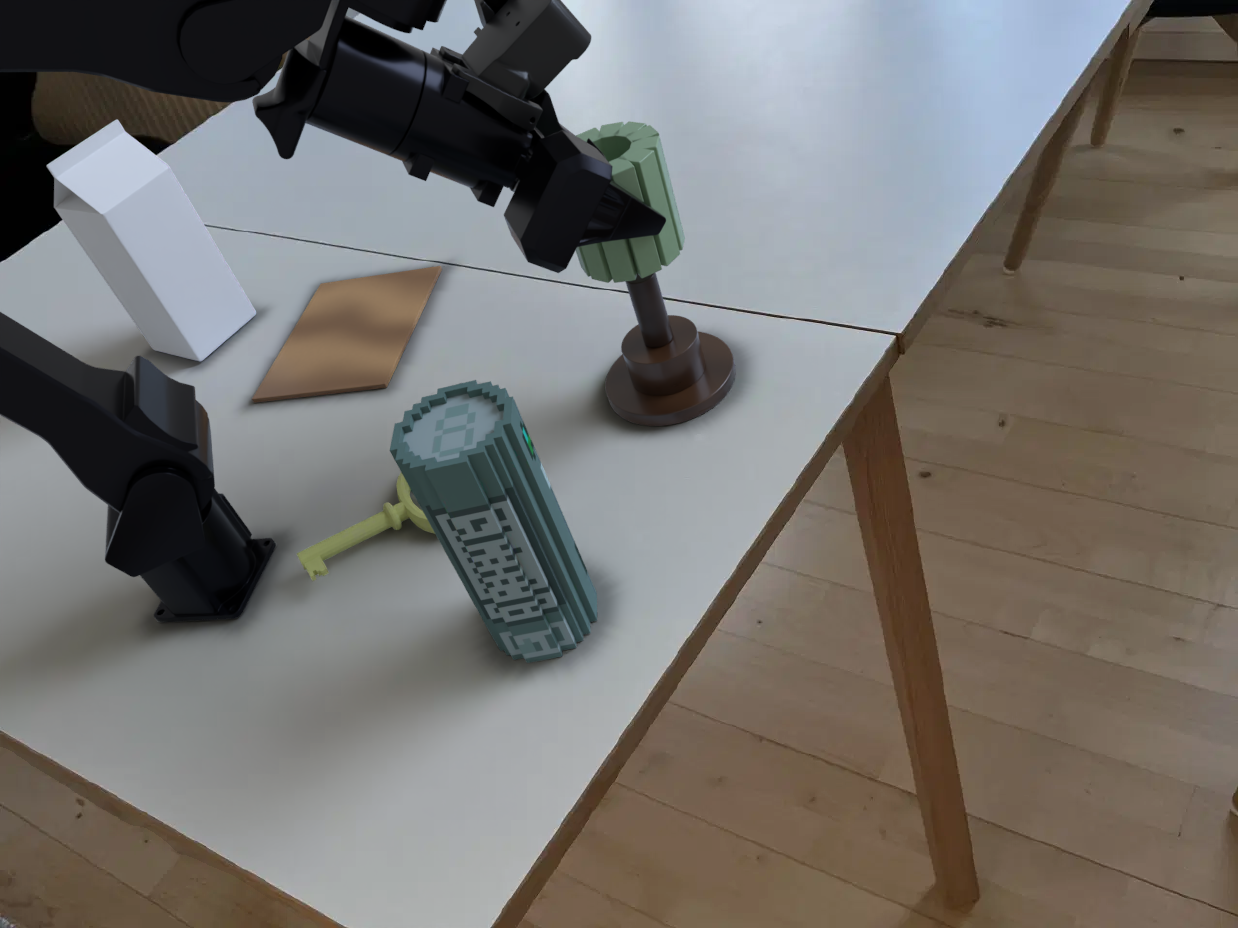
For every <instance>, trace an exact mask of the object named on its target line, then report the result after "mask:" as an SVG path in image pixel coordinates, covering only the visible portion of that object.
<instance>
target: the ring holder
mask: <svg viewBox="0 0 1238 928" xmlns="http://www.w3.org/2000/svg"><path fill="white" fill-rule="evenodd" d="M624 283H625V285H626V288H627V292H628V295H629V298H630V302H631V304H632V307H633V311H634V314H635V318H636V321H637V324H636V325H635V326H634V327H632V328H631V329H630V330H629V331H628V332H627V333H626V334H625V336H624V337H623V338H622V342H621V346H620V349H621V353H622V354H621V355H619V357H617V359H615V361H614V362H613V364H612V365H611V366H610V368H609V370H608V371H607V373H606V378H605V382H604V383H605V384H604V387H605V389H604V390H605V393H606V397H607V399H608V403H609V405H610V407H611V409H612V410H613V412H614V413H616V415H618V416H619V417H620V418H622V419H623V420H625V421H628V422H630V423H632V424H635V425H640V426H646V427H664V426H665V427H666V426H671V425H676V424H680V423H684V422H686V421H690V420H692V419H696V418H697V417H699V416H701V415H703V414H705V413H707V412H708V411H710V410H711V409H713V408H714V407H716V406H717V405H718V404H719V403H721V401H722V400H724V398H725V397H727V395H728V394H729V392H730V391H731V389H732V387H733V385H734V382H735V379H736V375H737V367H736V362H735V359H734V355H733V354H734V353H732V350H731V348H730V347H729V345H728V344H727V343H726V342H725V341H724V340H722V339H721V338H720V337H718V336H715V335H714V334H711V333H707V332H704V331H698V329H697V326H696V324H695V323H694V322H693V321H692V320H691V319H689V318H687V317H685V316H682V315H675V314H668V311H667V307H666V304H665V301H664V296H663V293H662V291H661V287H660V283H659V279H658V276H657V272H655V273H653V274H651V275H649V276H646V277H644V278H641V277H640V276H639V275H638V273H637V276H636V280H633V281H625V282H624Z"/></svg>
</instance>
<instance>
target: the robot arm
mask: <svg viewBox="0 0 1238 928" xmlns="http://www.w3.org/2000/svg"><path fill="white" fill-rule="evenodd" d="M447 1H448V0H0V73H80V74H85V75H90V76H96V77H103V78H107V79H109V80H110V79H111V80H113V81H116V82H120V83H123V84H126V85H129V86H132V87H135V88H138V89H141V90H145V91H148V92H151V93H157V94H162V95H163V94H165V95H169V96H177V97H182V98H183V97H184V98H189V99H197V100H202V101H209V102H216V103H235V102H241V101H246V100H249V99H251V98H252V99H251V100H252V101H251V102H252V106H253V111H254V115H255V117H256V118H257V119H258V120H259V121H260V122H261V123H262V124H263V126H264V127H265V129H266V130H267V131H268V133H269V135H270V136H271V138H272V141H273V143H274V145H275V147H276V151H277V153H278V155H279V157H280V159H283V160H290V159H292V158H293V157H294V155H295V153H296V150H297V148H298V145H299V142H300V140H301V137H302V134H303V132H304V129H305V126H306V125H309V126H311V127H314V128H317V129H319V130H322V131H324V132H326V133H327V132H328V133H329V134H332V135H335V136H337V137H340V138H342V139H345V140H348V141H350V142H353V143H355V144H357V145H360V146H363V147H365V148H368V149H370V150H373V151H375V152H377V153H380V154H383V155H386V156H388V157H390V158H393V159H396V160H398V161H401V162H402V165H403V166H404V168H405V170H406V173H407V174H408V176H411V177H413V178H417V179H419V180H422V181H424V182H427V180H428V178H429V176H430V173H432V174H434V175H436V176H439V177H442V178H445V179H447V180H448V181H449V180H450V181H452V182H454V183H456V184H459V185H463V186H465V187H467V188H469V190H470V191H471V192H472V194H473V196H474V198H475V199H476V201H477V202H479V203H481V204H484V205H486V206H489V207H492V208H495V206H496V204H497V202H498V200H499V198H500V195H501V193H502V191H503V190H504V188H507V189H509V190H510V191H511V192H513V194H512V196H511V198H510V200H509V203H508V204H507V206H506V209H505V211H504V213H503V218H504V220H505V222H506V225H507V228H508V231H509V233H510V236H511V238H512V239H513V240H514V242H515V244H516V245H517V247H518V249H519V250H520V252H521V253H522V255H523V257H524V258H525V260H526V261H527V263H529V264H531V265H535V266H538V267H540V268H543V269H546V270H548V271H551V272H554V273H556V274H559V273H562V272H563V271H565V270H566V269H567V268H568V266H569V264H570V262H571V260H572V258H573V256H574V254H575V253H576V248H577V247H581V246H586V245H590V244H595V243H601V242H608V241H615V240H623V239H630V238H638V237H646V236H654V235H658V234H659V233H660V232H661V230H662V228H663V227H664V225H665V223H666V218H665V217H664V216H663V215H662V214H661V213H659V212H658V211H656V210H655V209H653V208H652V207H651V206H649V205H648V204H646V203H645V202H643V201H642V200H640V199H639V198H637V197H636V196H634V195H633V194H631V193H630V192H628V191H627V190H625V189H624V188H623V187H621V186H620V185H618V184H617V183H615V182H614V181H612V180H611V177H612V167H613V166H612V165H611V164H610V163H609V162H608V161H607V160H606V157H605V155H604V154H603V153H602V152H601V151H600V149H599V148H598V147H597V146H596V145H595V144H594V143H593V142H592V141H591V140H590V139H589V138H588V140H587V142H585V141H584V140H582V139H580V138H579V137H576V135H575V134H574V133H573V132H571V131H570V130H569V129H568V128H567V127H566V126H564V125H563V124H561V123H560V122H559V118H558V116H557V113H556V111H555V110H556V109H555V106H554V104H553V101H552V98H551V95H550V93H549V92H548V91H547V90H546V88H547V87H548V86H549V85H550V84H551V83H552V82H553V81H554V80H555V79H556V78H557V76H559V74H560V73H562V71H563V70H565V68H566V67H567V66H568V65H569V64H570V63H571V62H572V61H574V60H576V61H577V60H578V59H579V58H581V56H582V55H584V53H585V52H586V51H587V50H588V48H589V47H590V45H591V42H592V34H591V33H590V31H588V30H587V28H585V26H584V25H583V24H582V23H581V21H579V19H578V18H577V17H576V16H575V15H574V14H573V13H572V11H571V10H570V9H569V8H568V7H567V6H566V4H565V3H564V2H563V1H562V0H473V1H474V5H475V7H476V11H477V14H478V17H479V18H478V19H479V21H480V23H481V26H482V28H480V27H479V26H478V27H476V29H475V30H473V34H474V35H475V36H476V38H475V39H474V40H473V41H472V42H471V43H470V45H469V46H468V47H467V48H466V50H465V51H463V53H460V52H457V51H456V50H454V49H451V48H448V47H446V46H444V45H441V46H440V47H439V49H437V48H435V47H432V48H431V50H430V53H429V52H427V51H425V50H423V49H421V48H418V47H416V46H414V45H411V44H410V43H407V42H405V41H403V40H400V39H398V38H396V37H394V36H392V35H390V34H387V33H385V32H383V31H381V30H379V29H377V28H374V27H373V26H370V25H368V24H365V23H363V22H361V21H359V20H357V19H355V18H352V17H350V16H348V15H347V13H348V11H349V9H351V10H353V11H355V12H356V13H359V14H361V15H363V16H365V17H366V18H369V19H370V20H372V21H375V22H376V23H378V24H380V25H382V26H385V27H387V28H389V29H392V30H395V31H398V32H400V33H404V34H412V33H413V30H414V29H416V30H419V31H424V30H425V26H426V24H427V22H429V23H439V21H440V18H441V16H442V14H443V12H444V8H445V7H446V4H447ZM308 38H309V39H308ZM286 53H287V54H286ZM284 54H286V56H285V59H284V61H283V62H284V63H283V65H282V67H281V71H280V73H279V76H278V79H277V82H276V85H275V87H273V88H272V89H270V90H269V91H267V92H266V93H262V94H260V93H261V91H262V90H263V89H264V88H265V87H266V86H267V85H268V84H269V83H270V82H271V81H272V79H273V78H274V77H275V76H276V74H277V72H278V69H279V67H280V65H281V62H282V60H283V55H284ZM0 416H1V417H2V418H4V419H6V420H8V421H10V422H12V423H14V424H15V425H17V426H19V427H20V428H23V429H24V430H26V431H28V432H30V433H31V434H34V435H35V436H37V437H38V438H41V440H43V441H45V442H46V443H47V444H48V445H49V446H50V448H52V450H53V451H54V452H55V454H57V456H58V458H60V460H61V461H62V462H63V463H64V464H65V466H66V467H67V468H68V470H69V471H70V472H71V473H72V474H73V476H74V477H75V478H76V479H77V481H79V483H80V484H81V485H82V486H83V487H84V488H85V489H86V490H87V491H88V492H90V493H91V494H93V496H95V497H96V498H98V499H99V500H100V501H102V502H103V503H105V504H106V505H107V514H106V529H105V531H106V532H105V550H104V561H105V563H106V564H107V565H108V566H110V567H112V568H114V569H117V570H118V571H120V572H122V573H124V574H126V575H127V576H129V577H131V578H137V577H140V578H141V579H142V580H143V581H144V583H145V584H146V585H147V586H148V587H149V588H150V589H151V591H152V592H153V593H154V594H155V595H156V596H157V598H158V599H159V600H160V602H159V604H158V606H157V607H156V609H155V611H154V613H153V618H154V619H155V620H156V621H157V622H158V623H176V622H179V623H180V622H196V621H197V622H198V621H199V622H200V621H217V620H218V621H219V620H235V619H237V618H239V617H241V616H242V615H243V613H244V612H245V609H246V607H247V606H248V603H249V602H250V600H251V597H252V596H253V594H254V591H255V589H256V587H257V585H258V584H259V581H260V579H261V577H262V575H263V573H264V571H265V569H266V567H267V566H268V564H269V561H270V559H271V558H272V556H273V554H274V551H275V549H276V548H277V543H276V541H275V540H274V538H272V537H265V538H264V537H263V538H252V536H253V534H252V532H251V530H250V528H249V527H248V526H247V524H246V523H245V522H244V521H243V518H241V516H240V515H239V513H238V512H237V511H236V509H235V508H234V507H233V505H232V504H231V503H230V501H229V500H228V499H227V497H226V496H225V494H224V493H223V492H222V493H221V492H218V491H217V489H216V488H215V487H216V485H215V484H216V482H215V468H214V455H213V442H212V429H211V423H210V422H211V421H210V418H209V415H208V412H207V410H206V409H205V407H204V405H203V404H202V403H200V402H199V401H198V400H197V398H196V387H195V385H192V384H188V383H184V382H180V381H178V380H176V379H173V378H171V377H170V376H168V375H167V374H165V373H164V372H163V371H161V369H159V368H158V367H157V366H156V365H155V364H154V363H152V361H150V360H149V359H147V358H145V357H143V356H142V355H135V356H134V358H133V360H132V361H131V363H130V364H129V366H128V367H127V369H126V370H117V369H111V368H104V367H96V366H92V365H90V364H88V363H86V362H84V361H81V360H80V359H78V358H77V357H75V356H73V354H70V353H69V352H67V351H65V350H64V349H62V348H61V347H59V346H57V345H56V344H54V343H52V342H51V341H49V340H47V339H46V338H45V337H43V336H41V335H39V334H37V333H36V332H34V331H33V330H31V329H30V328H28V327H26V326H25V325H23V324H21V323H19V322H18V321H16V320H15V319H13V318H11V317H10V316H8V315H7V314H5V313H3V312H2V311H0Z"/></svg>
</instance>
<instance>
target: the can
mask: <svg viewBox="0 0 1238 928" xmlns="http://www.w3.org/2000/svg"><path fill="white" fill-rule="evenodd" d="M389 453H390V455H391V457H392V458H393V460H394V462H395V464H396V465H397V467H398V468H399V471H400V473H402V474H403V476H404V478H405V480H406V482H407V483H408V485H409V487H410V489H411V491H410V492H411V493H412V494H413V495H414V498H415V500H416V501H417V504H418V505H419V507H420V509H421V510H422V511H423V512H424V514H425V516H426V518H427V520H428V521H429V523H430V525H431V527H432V529H433V531H434V532H435V534H434V535H435V536H436V538H437V540H438V541H439V543H440V545H441V547H442V549H443V550H444V553H445V554H446V556H447V558H448V560H449V561H450V563H451V565H452V567H453V569H454V570H455V573H456V574H457V576H458V578H459V579H460V581H461V583H462V585H463V587H464V589H465V591H466V592H467V594H468V596H469V598H470V600H471V601H472V604H473V605H474V607H475V609H476V611H477V612H478V614H479V616H480V618H481V619H482V621H483V623H484V625H485V626H486V629H487V630H488V632H489V634H490V636H491V638H492V639H493V641H494V642H495V644H496V646H497V648H498V650H499V651H500V652H501V651H504V653H505V655H506V656H511V659H512V660H513V661H516V660H520V659H524V660H525V662H526V664H531V663H535V662H540V661H541V662H542V661H546V660H550V659H556V658H561V657H563V651H566V650H573V649H577V643H578V642H584V636H585V635H590V634H591V623H592V622H597V621H598V593H597V590H596V588H595V585H594V583H593V581H592V579H591V575H590V574H589V572H588V569H587V567H586V564H585V562H584V560H583V557H582V555H581V553H580V551H579V548H578V546H577V543H576V541H575V538H574V537H573V534H572V532H571V530H570V527H569V525H568V523H567V520H566V518H565V515H564V513H563V511H562V509H561V505H560V504H559V501H558V499H557V496H556V494H555V492H554V490H553V487H552V485H551V482H550V479H549V478H548V475H547V473H546V471H545V469H544V466H543V464H542V461H541V460H540V459H541V458H540V456H539V455H538V452H537V450H536V447H535V445H534V443H533V440H532V438H531V436H530V433H529V431H528V429H527V427H526V424H525V422H524V420H523V417H522V414H521V412H520V409H519V407H518V405H517V403H516V400H515V398H514V396H510V395H509V392H508V389H507V388H506V387H502V388H501V387H500V385H499V384H494V385H493V383H492V380H489V381H485V382H482V383H478V381H477V380H476V379H473V380H469V381H465V382H461V383H457V384H456V383H455V384H452V385H448V386H444V387H440V388H437V391H436V393H435V394H431V395H426V396H422V397H421V399H420V402H416V403H413V404H412V408H411V409H408V410H404V413H403V418H402V421H399V422H395V423H394V426H393V432H392V437H391V441H390V446H389Z"/></svg>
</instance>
